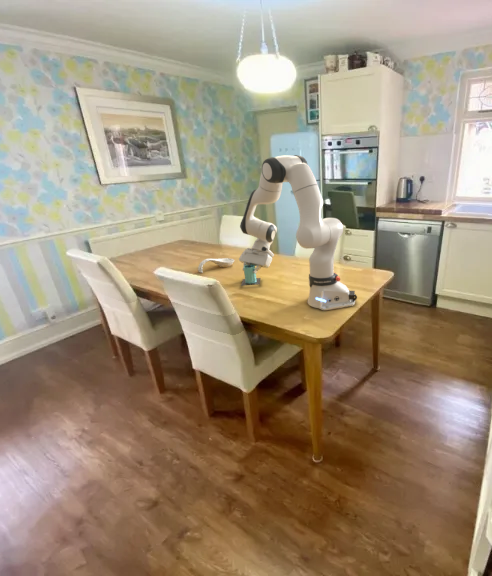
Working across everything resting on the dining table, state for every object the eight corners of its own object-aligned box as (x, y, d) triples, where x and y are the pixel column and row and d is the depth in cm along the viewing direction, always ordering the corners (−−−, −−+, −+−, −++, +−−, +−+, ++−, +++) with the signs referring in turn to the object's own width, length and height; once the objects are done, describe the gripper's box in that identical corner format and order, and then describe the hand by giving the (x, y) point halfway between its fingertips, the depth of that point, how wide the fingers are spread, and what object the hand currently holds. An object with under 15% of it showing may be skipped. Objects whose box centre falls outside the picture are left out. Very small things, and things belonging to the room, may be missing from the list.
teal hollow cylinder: (256, 279, 179) (255, 264, 175) (256, 283, 173) (254, 267, 170) (246, 280, 178) (244, 264, 175) (245, 283, 173) (243, 268, 169)
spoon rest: (228, 261, 215) (227, 251, 212) (238, 265, 207) (237, 254, 204) (195, 271, 199) (193, 260, 197) (204, 275, 192) (202, 263, 189)
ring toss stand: (261, 280, 181) (258, 259, 176) (260, 286, 172) (257, 264, 167) (243, 281, 180) (240, 260, 176) (241, 288, 171) (238, 266, 166)
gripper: (243, 244, 179) (232, 266, 176) (270, 249, 169) (259, 272, 165) (249, 250, 185) (239, 271, 181) (276, 255, 174) (266, 277, 170)
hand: (249, 271), depth 173 cm, fingers closed on teal hollow cylinder, 6 cm apart
